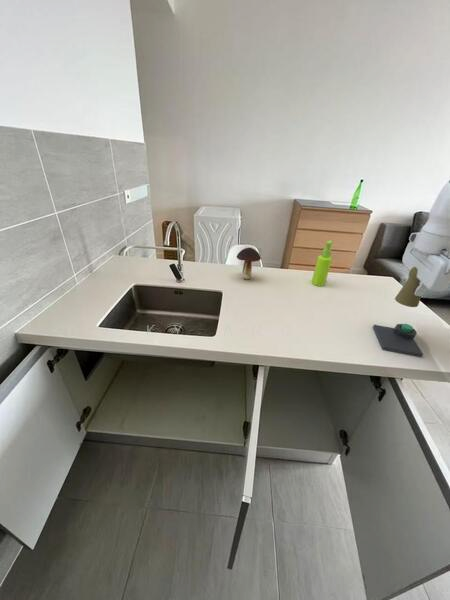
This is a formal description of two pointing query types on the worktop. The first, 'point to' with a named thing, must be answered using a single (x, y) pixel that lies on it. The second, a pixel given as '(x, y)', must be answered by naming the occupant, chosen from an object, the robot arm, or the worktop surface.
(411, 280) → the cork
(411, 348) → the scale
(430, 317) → the worktop surface
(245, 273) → the decorative mushroom
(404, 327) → the power button
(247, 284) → the worktop surface
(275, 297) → the worktop surface
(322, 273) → the soap dispenser
